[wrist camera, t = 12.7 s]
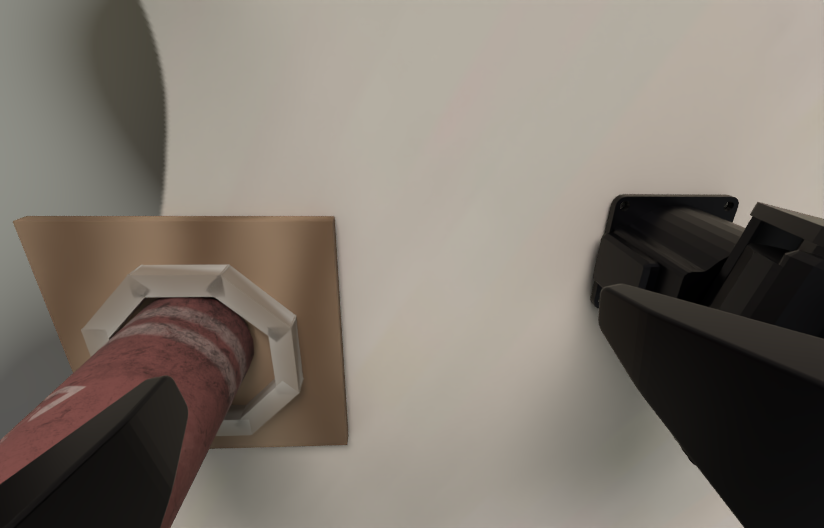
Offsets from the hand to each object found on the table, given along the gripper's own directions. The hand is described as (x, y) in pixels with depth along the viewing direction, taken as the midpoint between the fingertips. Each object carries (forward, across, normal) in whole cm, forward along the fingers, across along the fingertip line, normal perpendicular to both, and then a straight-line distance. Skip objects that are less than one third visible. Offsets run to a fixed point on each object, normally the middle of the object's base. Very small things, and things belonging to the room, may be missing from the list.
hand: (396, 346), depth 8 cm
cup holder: (+14, +11, +7) cm, 19 cm away
